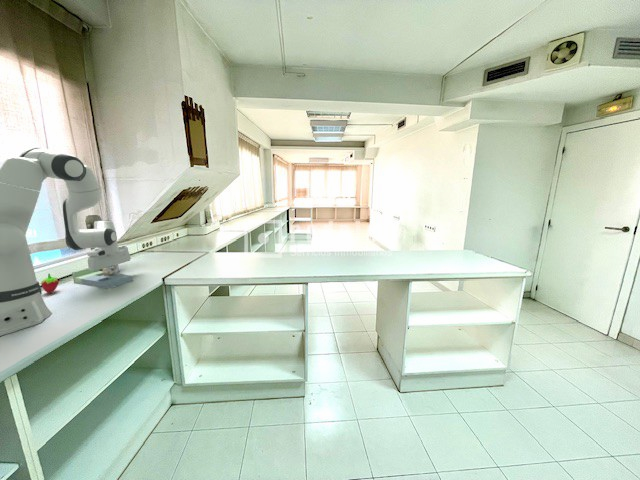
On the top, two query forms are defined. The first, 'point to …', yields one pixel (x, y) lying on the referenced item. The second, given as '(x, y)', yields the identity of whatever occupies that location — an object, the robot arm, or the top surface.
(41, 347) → the top surface
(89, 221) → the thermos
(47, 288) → the strawberry
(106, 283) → the trap board
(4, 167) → the robot arm
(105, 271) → the beech block
